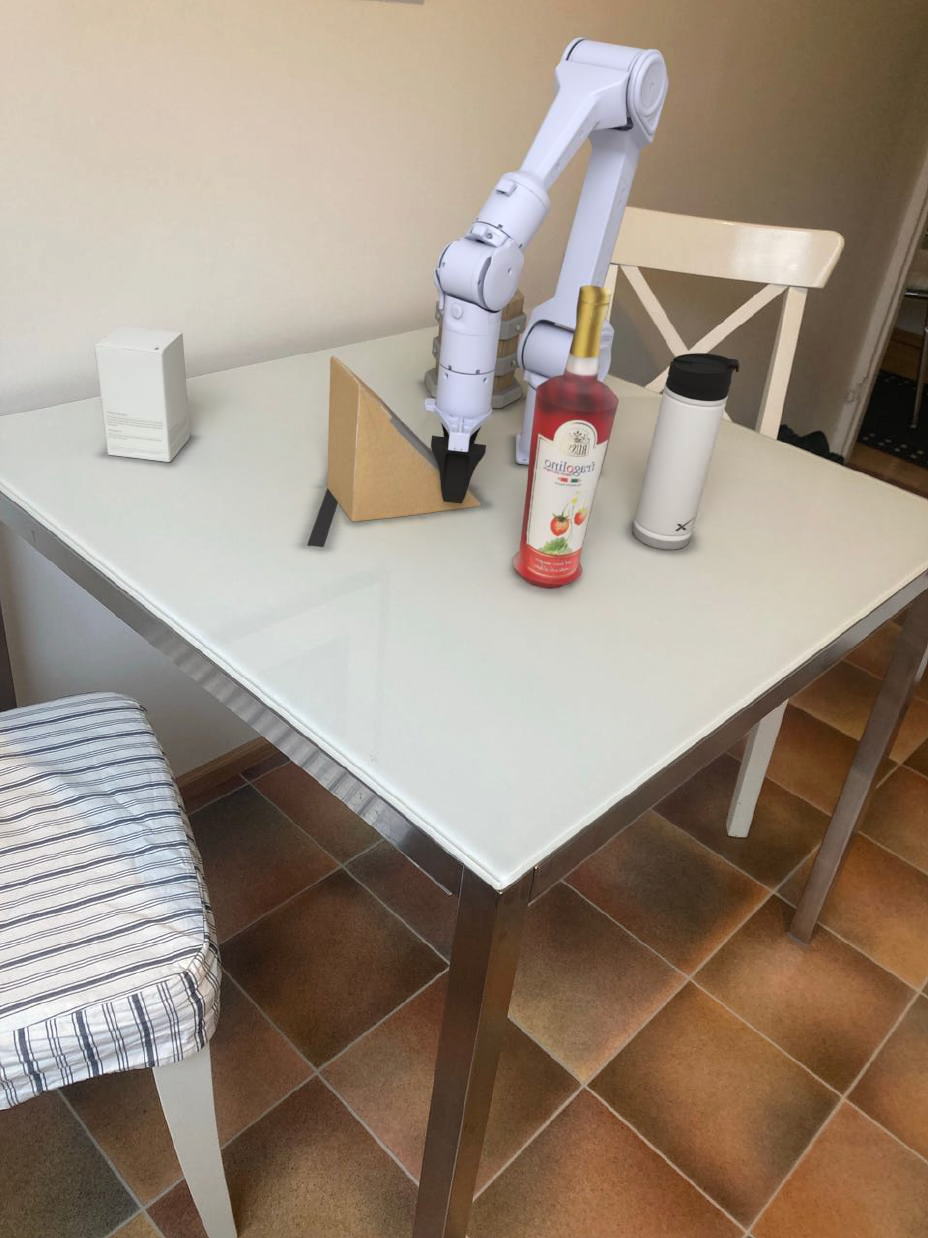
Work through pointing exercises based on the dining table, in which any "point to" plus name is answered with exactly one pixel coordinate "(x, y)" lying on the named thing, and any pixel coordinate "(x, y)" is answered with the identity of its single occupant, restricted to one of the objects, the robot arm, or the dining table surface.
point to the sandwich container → (378, 456)
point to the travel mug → (682, 448)
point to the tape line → (323, 520)
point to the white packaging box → (143, 392)
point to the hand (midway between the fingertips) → (454, 484)
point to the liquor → (567, 453)
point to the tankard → (506, 358)
